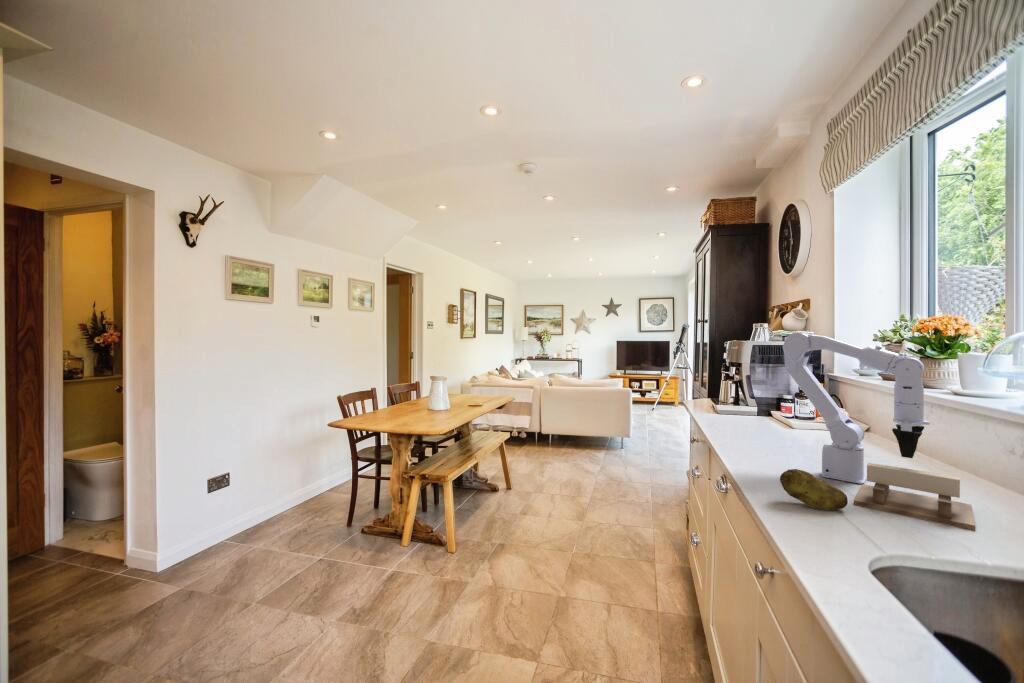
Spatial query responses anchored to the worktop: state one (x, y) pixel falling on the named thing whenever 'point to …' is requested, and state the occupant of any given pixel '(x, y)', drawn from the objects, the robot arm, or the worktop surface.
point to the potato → (812, 490)
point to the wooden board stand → (916, 505)
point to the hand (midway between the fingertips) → (908, 454)
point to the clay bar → (914, 479)
